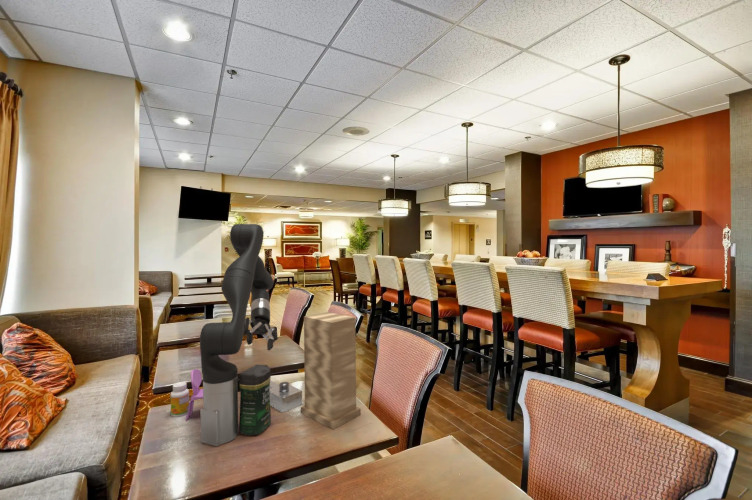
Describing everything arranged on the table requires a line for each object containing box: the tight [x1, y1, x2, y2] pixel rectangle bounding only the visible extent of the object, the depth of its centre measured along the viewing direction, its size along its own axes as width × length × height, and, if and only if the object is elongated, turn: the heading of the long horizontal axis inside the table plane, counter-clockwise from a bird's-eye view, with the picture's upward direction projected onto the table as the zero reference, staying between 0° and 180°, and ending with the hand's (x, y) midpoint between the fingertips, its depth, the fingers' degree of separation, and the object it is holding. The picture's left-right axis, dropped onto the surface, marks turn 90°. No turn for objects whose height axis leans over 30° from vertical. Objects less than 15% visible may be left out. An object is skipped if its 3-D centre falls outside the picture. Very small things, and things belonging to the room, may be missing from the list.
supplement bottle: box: [170, 381, 190, 418], centre depth 116 cm, size 5×5×10 cm
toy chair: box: [185, 368, 203, 422], centre depth 115 cm, size 8×9×15 cm
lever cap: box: [270, 380, 303, 414], centre depth 126 cm, size 23×8×7 cm, turn 48°
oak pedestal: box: [300, 311, 362, 430], centre depth 115 cm, size 16×12×32 cm
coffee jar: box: [238, 364, 272, 436], centre depth 106 cm, size 10×8×19 cm
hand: (260, 346), depth 131 cm, fingers open, 8 cm apart
